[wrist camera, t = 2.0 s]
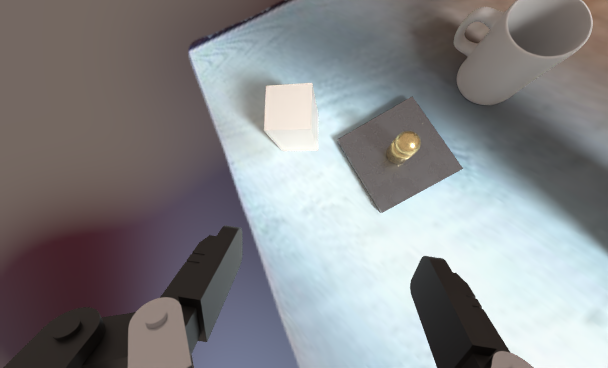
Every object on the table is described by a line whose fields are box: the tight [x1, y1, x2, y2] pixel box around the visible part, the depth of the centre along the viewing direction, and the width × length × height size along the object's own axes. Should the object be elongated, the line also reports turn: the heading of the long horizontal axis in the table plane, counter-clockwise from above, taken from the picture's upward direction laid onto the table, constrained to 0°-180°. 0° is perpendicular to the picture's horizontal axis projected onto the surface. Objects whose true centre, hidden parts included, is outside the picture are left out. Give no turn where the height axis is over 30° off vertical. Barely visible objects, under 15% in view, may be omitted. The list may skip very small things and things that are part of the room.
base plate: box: [338, 97, 463, 213], centre depth 33 cm, size 13×13×8 cm
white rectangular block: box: [264, 83, 319, 151], centre depth 34 cm, size 6×6×10 cm
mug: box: [454, 0, 593, 105], centre depth 31 cm, size 12×8×11 cm
